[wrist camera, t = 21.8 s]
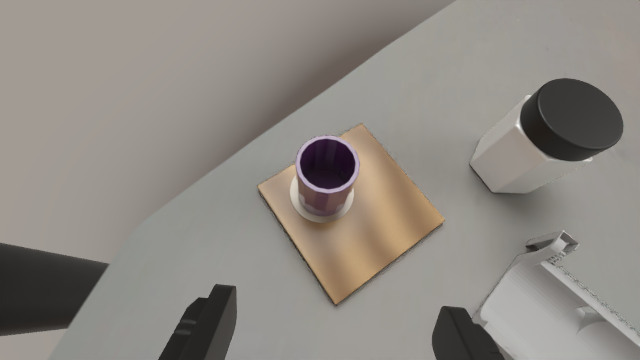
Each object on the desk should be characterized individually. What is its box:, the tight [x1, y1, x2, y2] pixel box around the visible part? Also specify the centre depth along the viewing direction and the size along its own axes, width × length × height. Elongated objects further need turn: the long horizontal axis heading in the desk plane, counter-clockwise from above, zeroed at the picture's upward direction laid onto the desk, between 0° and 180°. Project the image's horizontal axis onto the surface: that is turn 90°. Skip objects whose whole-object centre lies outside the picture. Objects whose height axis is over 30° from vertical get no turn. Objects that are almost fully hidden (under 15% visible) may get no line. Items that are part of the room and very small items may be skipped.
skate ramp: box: [472, 230, 640, 360], centre depth 29 cm, size 15×13×5 cm
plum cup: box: [295, 135, 360, 217], centre depth 32 cm, size 6×6×8 cm
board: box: [257, 123, 445, 305], centre depth 36 cm, size 16×16×1 cm
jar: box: [470, 78, 623, 193], centre depth 34 cm, size 9×8×12 cm
